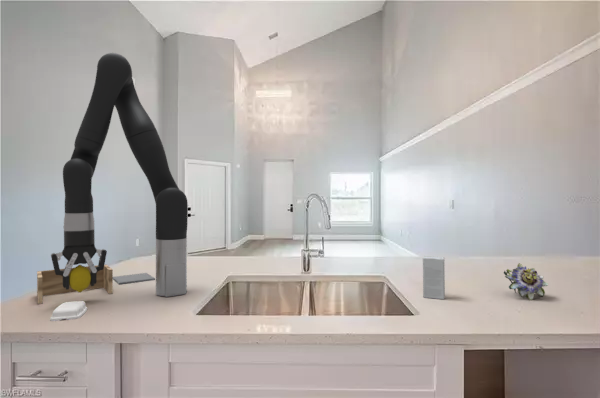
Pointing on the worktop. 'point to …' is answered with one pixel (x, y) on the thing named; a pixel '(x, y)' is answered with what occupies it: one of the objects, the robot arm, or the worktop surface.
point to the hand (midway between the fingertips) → (80, 287)
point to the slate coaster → (133, 278)
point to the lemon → (79, 278)
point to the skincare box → (433, 277)
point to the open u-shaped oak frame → (54, 285)
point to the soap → (69, 311)
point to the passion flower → (526, 281)
